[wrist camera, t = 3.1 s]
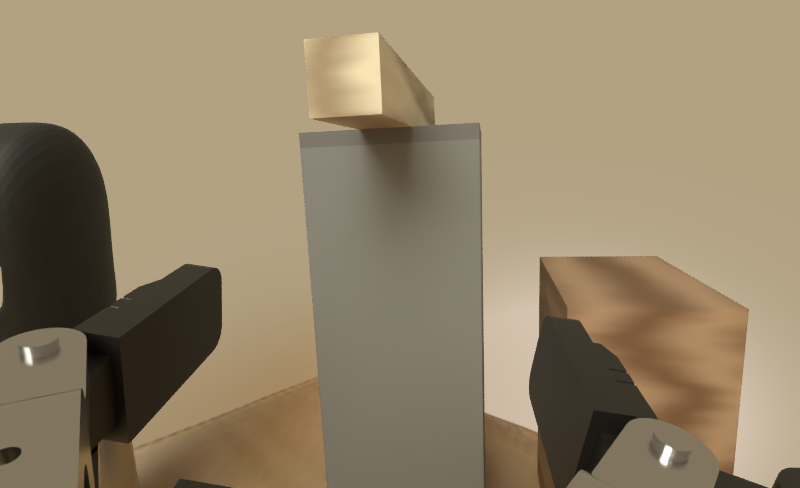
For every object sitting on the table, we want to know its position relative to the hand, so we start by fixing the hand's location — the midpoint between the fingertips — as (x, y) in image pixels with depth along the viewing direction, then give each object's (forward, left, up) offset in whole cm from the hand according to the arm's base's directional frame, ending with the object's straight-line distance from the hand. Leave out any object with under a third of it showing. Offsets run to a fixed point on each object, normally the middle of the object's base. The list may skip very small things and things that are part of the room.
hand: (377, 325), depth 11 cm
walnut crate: (+12, +24, -26) cm, 37 cm away
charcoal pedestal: (-4, +27, -26) cm, 37 cm away
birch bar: (-4, +22, +6) cm, 23 cm away
